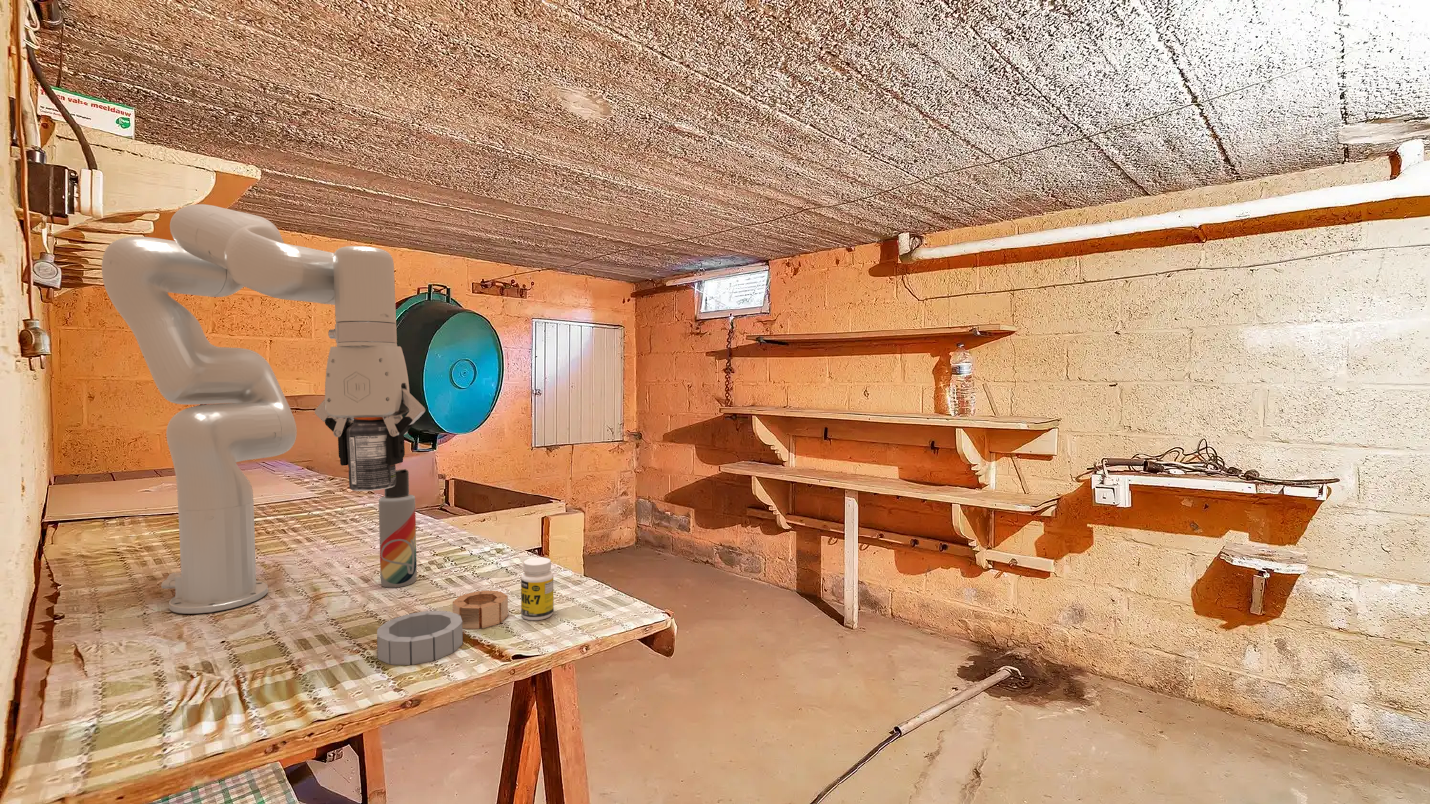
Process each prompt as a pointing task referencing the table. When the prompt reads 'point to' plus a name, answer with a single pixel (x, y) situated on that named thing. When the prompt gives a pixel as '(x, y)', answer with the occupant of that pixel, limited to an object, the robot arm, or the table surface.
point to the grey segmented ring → (419, 637)
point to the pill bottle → (369, 455)
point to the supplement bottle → (537, 589)
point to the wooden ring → (481, 609)
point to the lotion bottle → (397, 534)
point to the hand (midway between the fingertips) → (372, 462)
